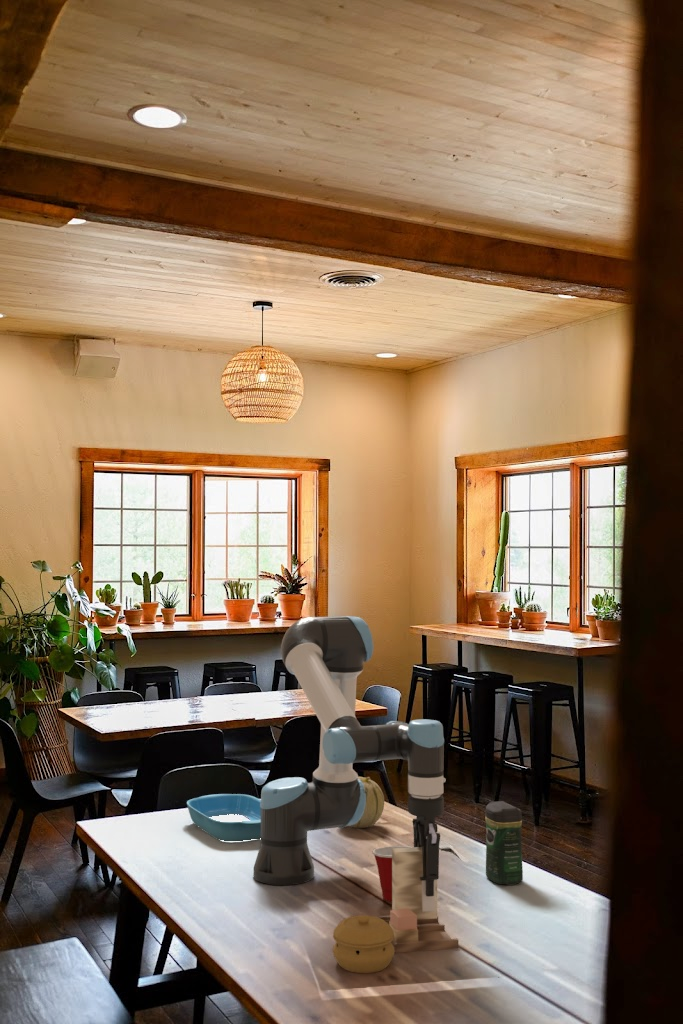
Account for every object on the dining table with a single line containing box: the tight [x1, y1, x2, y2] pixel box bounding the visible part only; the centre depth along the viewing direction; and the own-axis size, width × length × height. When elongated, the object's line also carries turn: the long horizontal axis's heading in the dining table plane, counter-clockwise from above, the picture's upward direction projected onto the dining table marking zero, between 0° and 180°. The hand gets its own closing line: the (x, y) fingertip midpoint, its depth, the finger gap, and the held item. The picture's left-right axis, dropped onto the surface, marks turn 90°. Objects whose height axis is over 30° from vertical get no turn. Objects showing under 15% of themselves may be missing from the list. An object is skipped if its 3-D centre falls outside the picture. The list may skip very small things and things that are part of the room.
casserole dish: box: [186, 793, 261, 841], centre depth 287 cm, size 37×22×7 cm, turn 29°
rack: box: [376, 915, 459, 954], centre depth 199 cm, size 13×16×3 cm
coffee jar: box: [484, 800, 524, 886], centre depth 240 cm, size 10×8×19 cm
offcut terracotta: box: [389, 908, 417, 931], centre depth 196 cm, size 4×4×2 cm
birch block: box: [391, 846, 438, 920], centre depth 205 cm, size 9×3×14 cm, turn 100°
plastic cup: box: [372, 845, 412, 902], centre depth 223 cm, size 11×11×12 cm
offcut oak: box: [389, 921, 418, 943], centre depth 196 cm, size 4×6×3 cm
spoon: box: [439, 840, 470, 863], centre depth 261 cm, size 4×21×2 cm, turn 19°
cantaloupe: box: [349, 776, 385, 829], centre depth 290 cm, size 15×15×15 cm
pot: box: [332, 914, 395, 974], centre depth 185 cm, size 12×12×10 cm
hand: (426, 907), depth 205 cm, fingers closed on birch block, 3 cm apart
